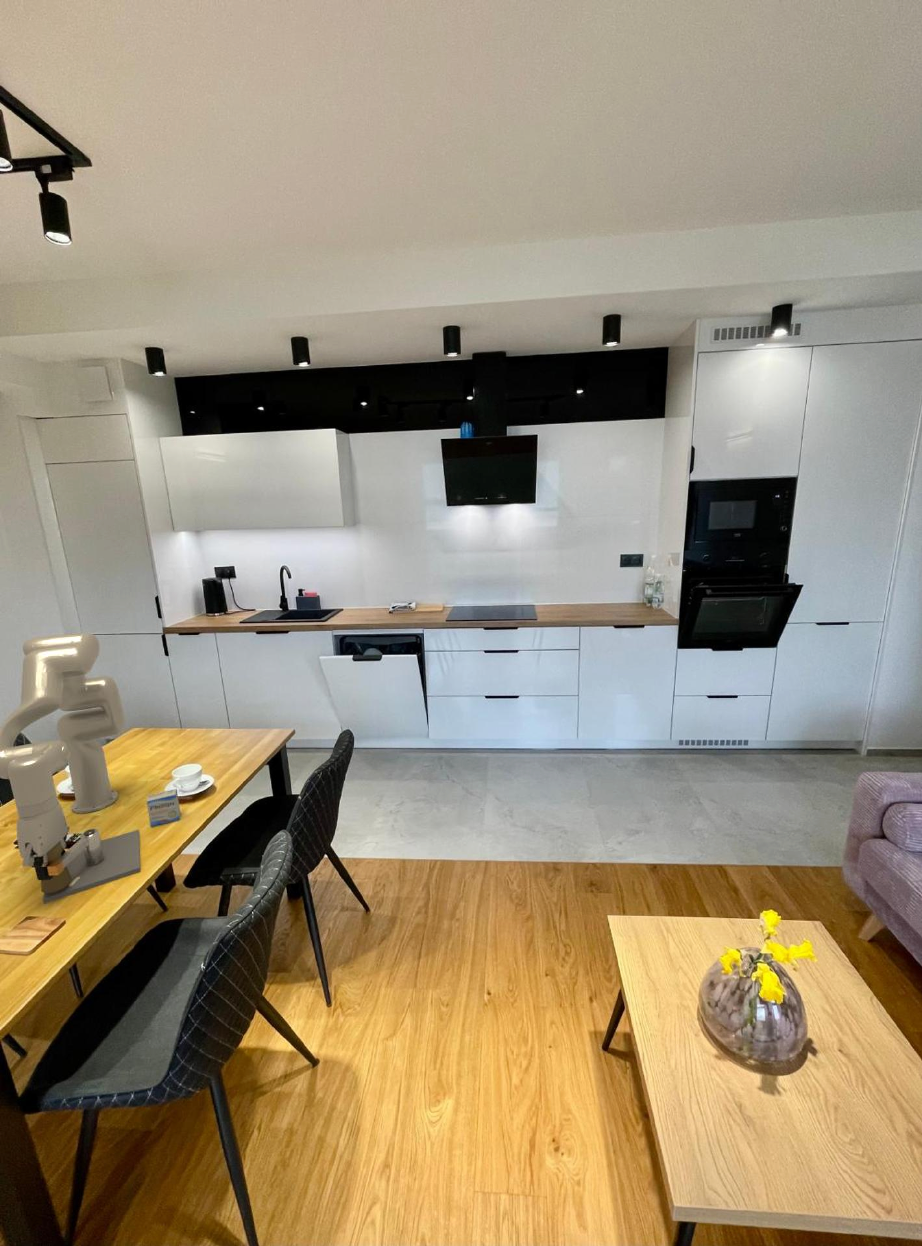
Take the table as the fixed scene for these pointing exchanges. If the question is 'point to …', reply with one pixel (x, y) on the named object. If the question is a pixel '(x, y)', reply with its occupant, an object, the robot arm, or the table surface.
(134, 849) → the dial plate
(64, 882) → the cork
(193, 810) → the table surface
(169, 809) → the medicine box
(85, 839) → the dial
